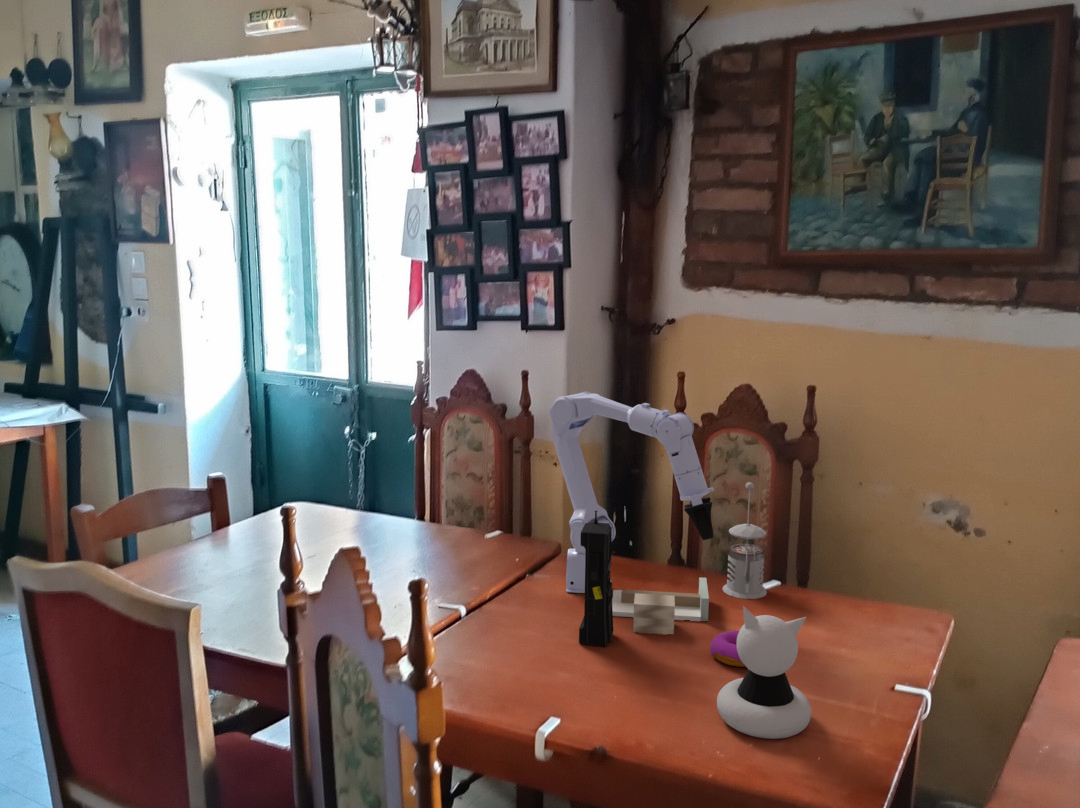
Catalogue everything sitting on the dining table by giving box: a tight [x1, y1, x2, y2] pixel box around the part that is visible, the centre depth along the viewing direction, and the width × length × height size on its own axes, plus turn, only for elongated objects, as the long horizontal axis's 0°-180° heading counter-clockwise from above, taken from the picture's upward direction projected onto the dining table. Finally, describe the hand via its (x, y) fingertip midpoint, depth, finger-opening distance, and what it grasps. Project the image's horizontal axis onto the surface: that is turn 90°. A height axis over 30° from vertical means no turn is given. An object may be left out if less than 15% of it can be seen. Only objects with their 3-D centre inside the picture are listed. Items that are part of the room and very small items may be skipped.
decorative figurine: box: [716, 605, 812, 740], centre depth 142 cm, size 15×15×20 cm
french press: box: [722, 481, 768, 600], centre depth 196 cm, size 10×12×25 cm
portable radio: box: [578, 511, 615, 647], centre depth 171 cm, size 8×6×25 cm
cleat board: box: [612, 577, 710, 622], centre depth 189 cm, size 20×12×5 cm, turn 82°
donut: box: [709, 630, 747, 668], centre depth 165 cm, size 10×10×4 cm
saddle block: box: [632, 593, 675, 635], centre depth 179 cm, size 8×6×6 cm
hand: (707, 536), depth 180 cm, fingers open, 7 cm apart
